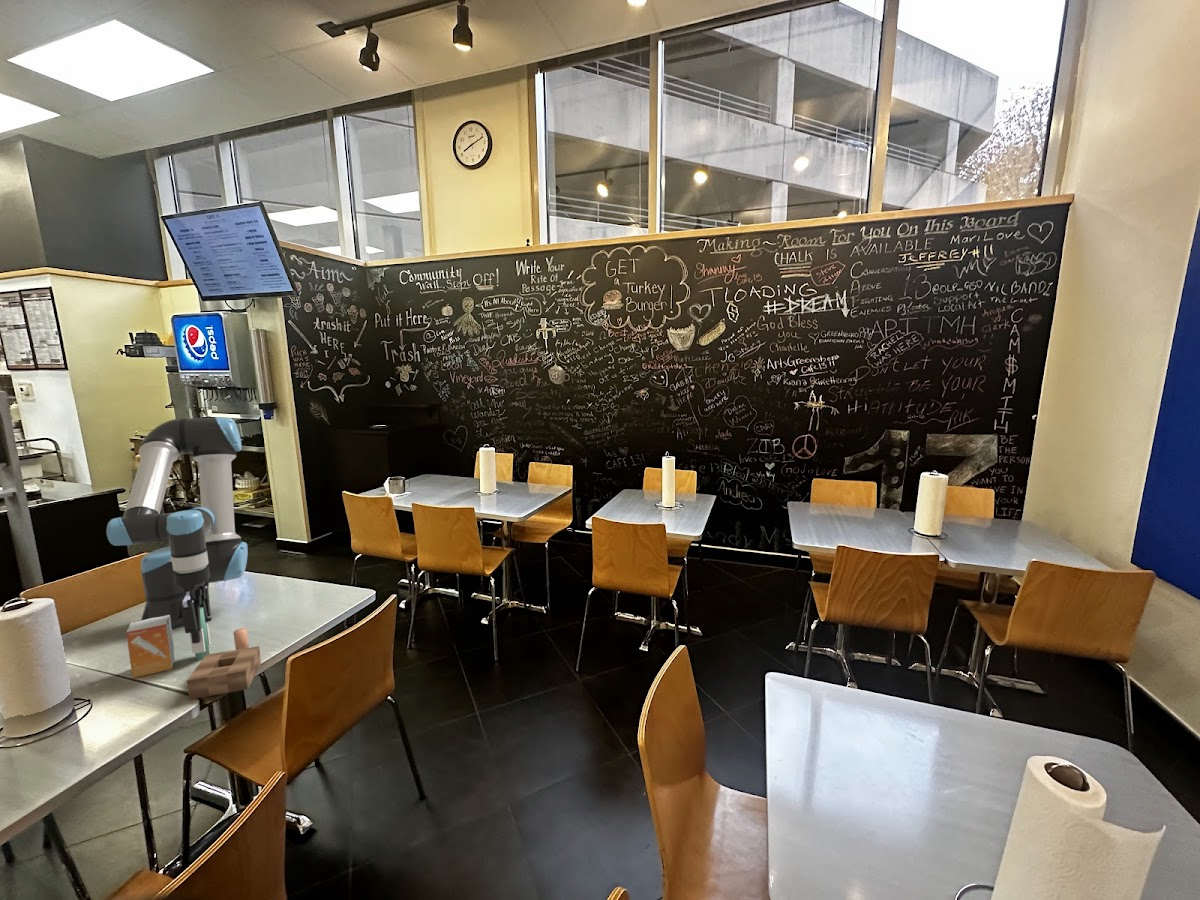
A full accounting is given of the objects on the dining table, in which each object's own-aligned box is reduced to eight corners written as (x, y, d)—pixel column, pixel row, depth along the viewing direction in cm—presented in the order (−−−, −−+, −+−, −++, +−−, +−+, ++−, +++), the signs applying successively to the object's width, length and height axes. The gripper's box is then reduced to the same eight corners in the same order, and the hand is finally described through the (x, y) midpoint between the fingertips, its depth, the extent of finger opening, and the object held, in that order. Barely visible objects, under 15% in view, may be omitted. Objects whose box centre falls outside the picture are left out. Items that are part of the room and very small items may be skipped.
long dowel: (198, 655, 142) (192, 608, 139) (211, 653, 143) (205, 606, 140) (194, 661, 139) (187, 613, 137) (207, 658, 140) (200, 611, 138)
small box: (132, 679, 131) (124, 632, 129) (137, 667, 136) (130, 621, 134) (172, 669, 135) (166, 623, 133) (176, 658, 140) (170, 613, 138)
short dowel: (238, 652, 143) (235, 629, 142) (250, 650, 144) (248, 627, 143) (234, 658, 140) (231, 634, 139) (247, 655, 141) (244, 632, 140)
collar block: (208, 672, 134) (205, 654, 133) (260, 663, 138) (259, 646, 137) (189, 699, 123) (186, 680, 122) (247, 689, 127) (245, 670, 126)
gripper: (186, 559, 143) (196, 636, 147) (160, 581, 128) (172, 667, 132) (218, 556, 145) (227, 632, 149) (196, 577, 131) (207, 661, 134)
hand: (201, 648), depth 140 cm, fingers closed on long dowel, 3 cm apart
